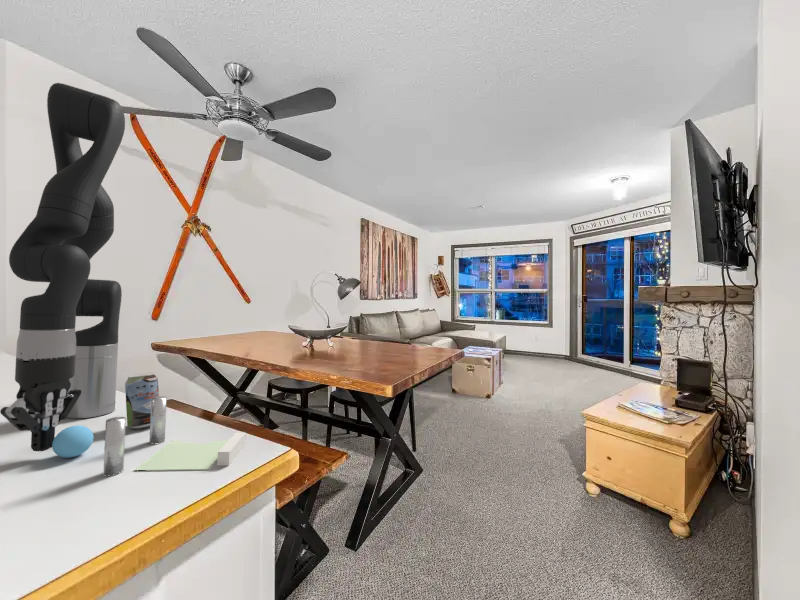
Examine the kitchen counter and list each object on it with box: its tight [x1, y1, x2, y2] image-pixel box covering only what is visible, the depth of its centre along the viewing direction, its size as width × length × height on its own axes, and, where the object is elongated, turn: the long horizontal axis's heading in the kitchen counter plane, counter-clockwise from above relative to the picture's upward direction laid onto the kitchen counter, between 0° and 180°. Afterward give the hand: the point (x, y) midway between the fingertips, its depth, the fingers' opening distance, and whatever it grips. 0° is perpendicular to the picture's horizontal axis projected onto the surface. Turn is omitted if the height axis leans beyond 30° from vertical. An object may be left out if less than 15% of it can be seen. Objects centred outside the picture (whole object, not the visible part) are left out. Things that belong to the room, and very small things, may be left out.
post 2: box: [149, 395, 168, 445], centre depth 70 cm, size 3×3×9 cm
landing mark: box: [134, 440, 229, 472], centre depth 65 cm, size 12×12×1 cm
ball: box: [51, 424, 95, 459], centre depth 63 cm, size 6×6×6 cm
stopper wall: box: [217, 432, 247, 467], centre depth 66 cm, size 2×9×2 cm, turn 7°
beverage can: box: [124, 372, 160, 429], centre depth 78 cm, size 6×7×12 cm
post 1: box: [103, 416, 127, 477], centre depth 58 cm, size 3×3×9 cm
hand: (42, 449), depth 62 cm, fingers closed
